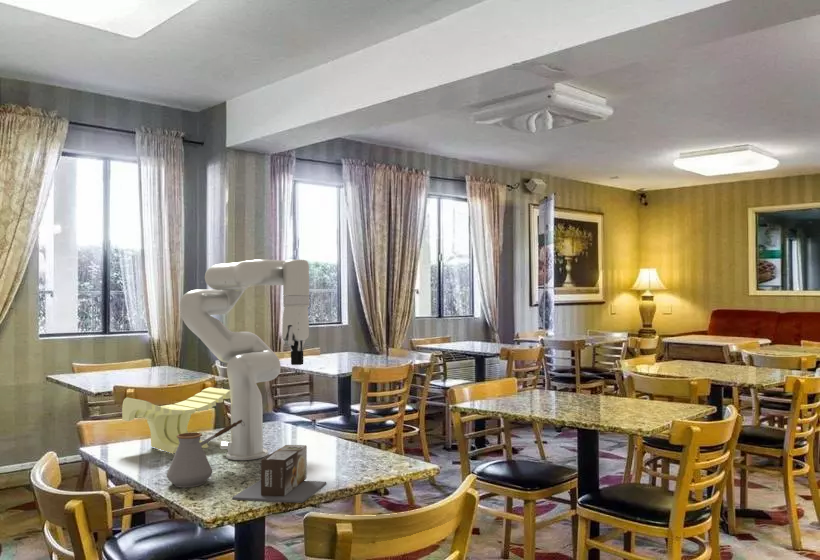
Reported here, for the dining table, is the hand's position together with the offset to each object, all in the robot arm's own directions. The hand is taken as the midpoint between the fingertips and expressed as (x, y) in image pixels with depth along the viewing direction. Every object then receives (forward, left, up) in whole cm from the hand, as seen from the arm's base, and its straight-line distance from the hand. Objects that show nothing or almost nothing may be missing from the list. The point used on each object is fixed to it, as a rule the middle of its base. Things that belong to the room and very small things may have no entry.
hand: (297, 364), depth 201 cm
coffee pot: (-18, -20, -29) cm, 40 cm away
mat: (+6, -27, -29) cm, 40 cm away
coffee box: (+6, -17, -24) cm, 30 cm away
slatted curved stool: (-49, +17, -29) cm, 60 cm away
